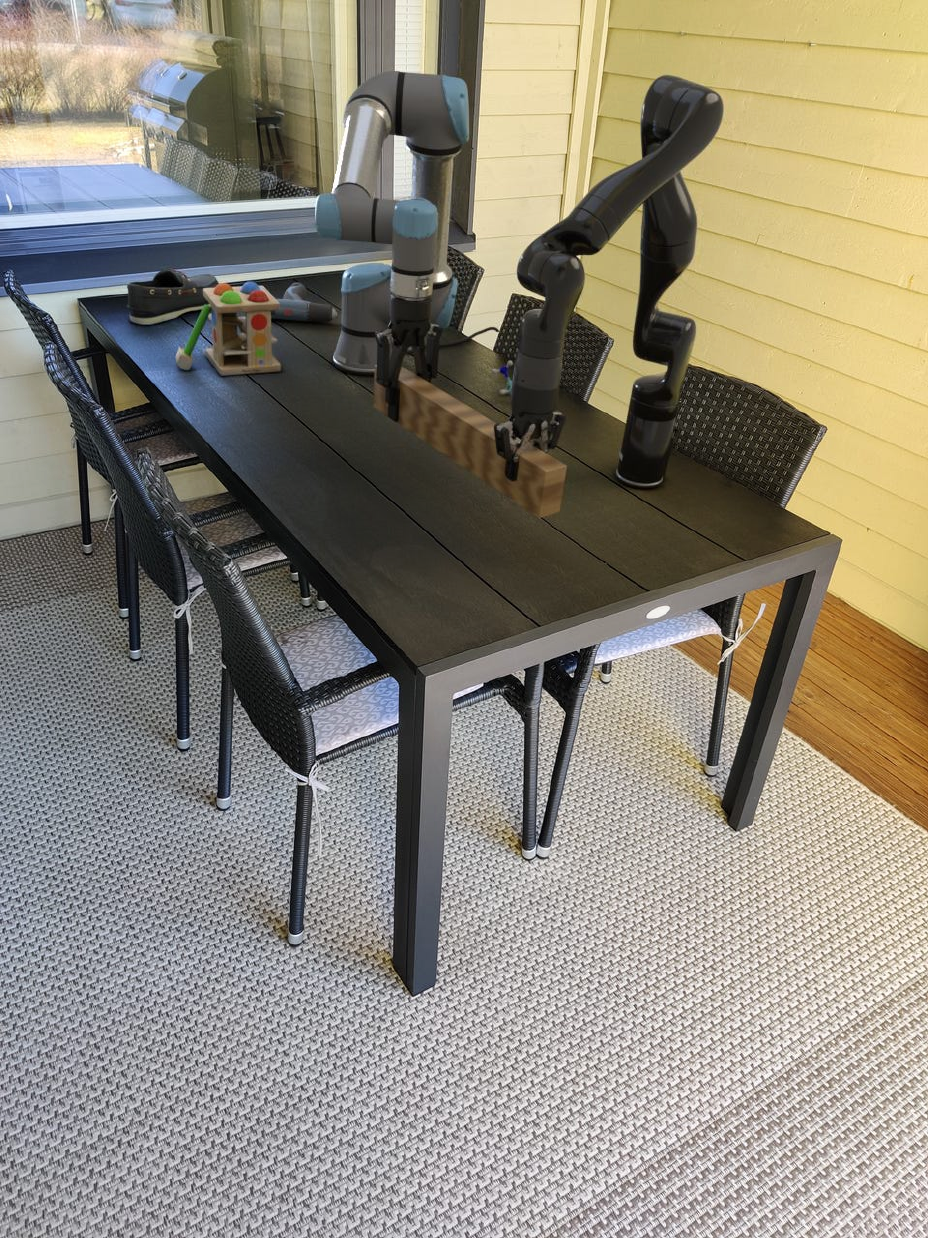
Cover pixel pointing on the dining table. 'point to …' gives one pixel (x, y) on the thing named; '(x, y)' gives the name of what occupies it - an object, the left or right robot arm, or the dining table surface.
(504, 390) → the molecular model
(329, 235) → the left robot arm
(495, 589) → the dining table surface
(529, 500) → the bar
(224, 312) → the pounding bench toy
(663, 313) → the right robot arm
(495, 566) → the dining table surface
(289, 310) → the power drill
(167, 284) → the boat shoe
